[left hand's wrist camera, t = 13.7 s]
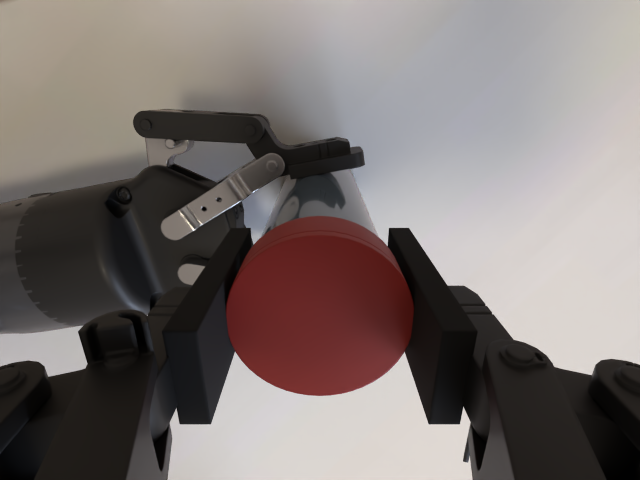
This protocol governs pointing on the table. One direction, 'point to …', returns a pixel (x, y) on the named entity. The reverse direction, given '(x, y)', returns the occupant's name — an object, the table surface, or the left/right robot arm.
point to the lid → (319, 307)
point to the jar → (320, 200)
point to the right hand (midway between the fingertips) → (367, 207)
